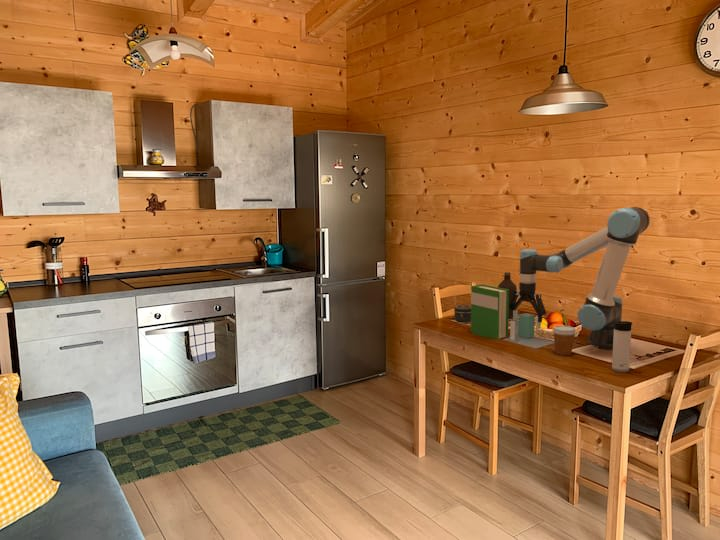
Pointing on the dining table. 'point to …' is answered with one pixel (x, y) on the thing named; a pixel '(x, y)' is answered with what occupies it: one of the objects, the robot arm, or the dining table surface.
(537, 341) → the board
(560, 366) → the dining table surface
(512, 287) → the olive oil
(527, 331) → the grey-green piece
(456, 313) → the jar
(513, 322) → the post
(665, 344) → the dining table surface
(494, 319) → the hardback book
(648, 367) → the dining table surface
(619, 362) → the travel mug
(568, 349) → the disposable coffee cup
